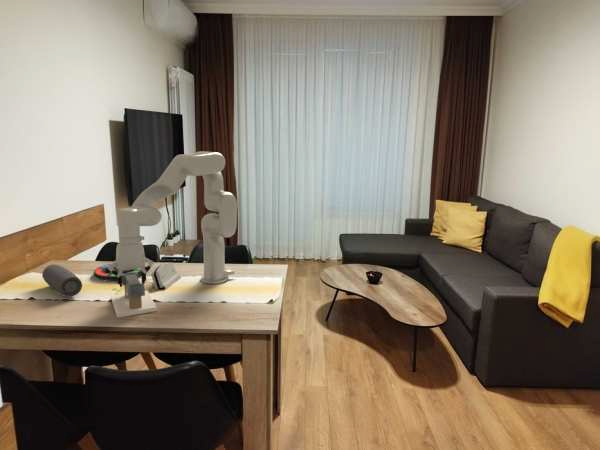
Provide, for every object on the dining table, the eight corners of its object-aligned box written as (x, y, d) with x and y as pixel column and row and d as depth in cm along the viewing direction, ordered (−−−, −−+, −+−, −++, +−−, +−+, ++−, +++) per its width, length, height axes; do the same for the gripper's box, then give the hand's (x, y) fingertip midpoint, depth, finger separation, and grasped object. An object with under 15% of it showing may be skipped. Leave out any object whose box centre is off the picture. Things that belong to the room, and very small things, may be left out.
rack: (147, 293, 172) (146, 279, 171) (156, 310, 155) (156, 294, 154) (111, 298, 165) (110, 283, 164) (116, 317, 148) (115, 300, 147)
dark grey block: (137, 281, 168) (137, 271, 167) (145, 295, 153) (144, 285, 152) (121, 283, 165) (121, 273, 164) (127, 298, 150) (127, 287, 149)
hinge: (166, 289, 177) (157, 268, 176) (156, 292, 178) (148, 271, 176) (181, 277, 193) (174, 258, 192) (172, 280, 194) (165, 260, 193)
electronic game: (154, 269, 205) (153, 260, 204) (131, 284, 183) (130, 274, 182) (111, 266, 207) (110, 257, 206) (83, 281, 185) (82, 271, 184)
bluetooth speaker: (84, 296, 167) (83, 273, 165) (59, 302, 160) (57, 278, 158) (65, 282, 182) (63, 261, 180) (42, 287, 175) (39, 265, 173)
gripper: (151, 236, 162) (153, 278, 166) (103, 240, 154) (106, 284, 157) (155, 240, 156) (157, 284, 160) (105, 245, 148) (108, 290, 151)
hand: (132, 284), depth 158 cm, fingers open, 7 cm apart
